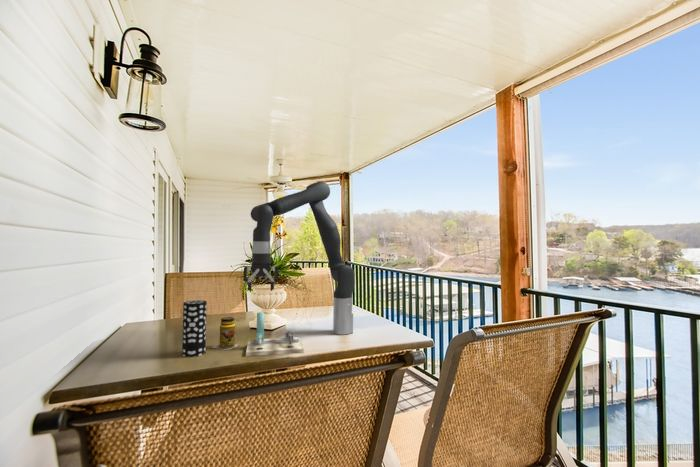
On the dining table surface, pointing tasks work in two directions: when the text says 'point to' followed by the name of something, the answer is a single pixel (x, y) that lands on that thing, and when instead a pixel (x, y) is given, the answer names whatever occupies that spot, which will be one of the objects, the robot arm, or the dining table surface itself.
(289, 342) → the grey peg board
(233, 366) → the dining table surface
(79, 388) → the dining table surface
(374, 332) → the dining table surface
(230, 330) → the condiment
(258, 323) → the sliding leg
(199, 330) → the white-spotted black cylinder
